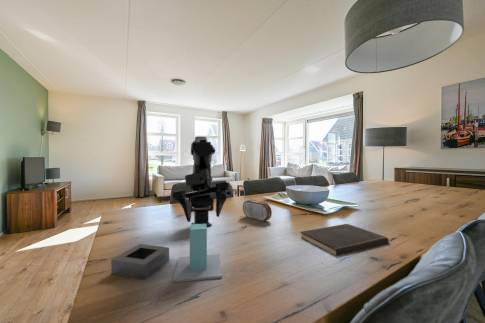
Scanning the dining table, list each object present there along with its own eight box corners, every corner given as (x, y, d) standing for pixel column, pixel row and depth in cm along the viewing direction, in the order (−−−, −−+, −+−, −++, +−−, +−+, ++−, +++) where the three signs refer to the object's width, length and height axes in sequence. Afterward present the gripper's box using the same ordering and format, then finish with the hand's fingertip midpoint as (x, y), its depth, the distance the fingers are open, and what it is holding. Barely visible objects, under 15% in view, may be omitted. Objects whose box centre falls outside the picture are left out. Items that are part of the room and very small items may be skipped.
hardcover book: (300, 238, 75) (300, 231, 75) (347, 229, 84) (347, 223, 84) (336, 258, 60) (336, 249, 60) (388, 244, 69) (388, 237, 69)
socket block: (139, 256, 60) (139, 243, 60) (169, 260, 57) (169, 247, 57) (111, 274, 51) (111, 259, 51) (145, 279, 48) (144, 264, 48)
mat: (178, 258, 58) (178, 257, 58) (219, 255, 60) (219, 254, 60) (172, 282, 47) (172, 280, 47) (221, 277, 49) (221, 275, 49)
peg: (191, 262, 55) (191, 224, 55) (206, 261, 56) (206, 223, 56) (189, 270, 51) (189, 229, 51) (206, 269, 52) (206, 228, 52)
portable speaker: (272, 222, 91) (272, 202, 91) (267, 223, 89) (267, 203, 89) (246, 215, 102) (246, 198, 102) (241, 216, 99) (241, 198, 99)
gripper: (164, 168, 66) (159, 217, 58) (221, 155, 63) (224, 205, 55) (181, 182, 75) (179, 226, 68) (231, 171, 73) (235, 216, 65)
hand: (203, 219), depth 64 cm, fingers open, 9 cm apart
